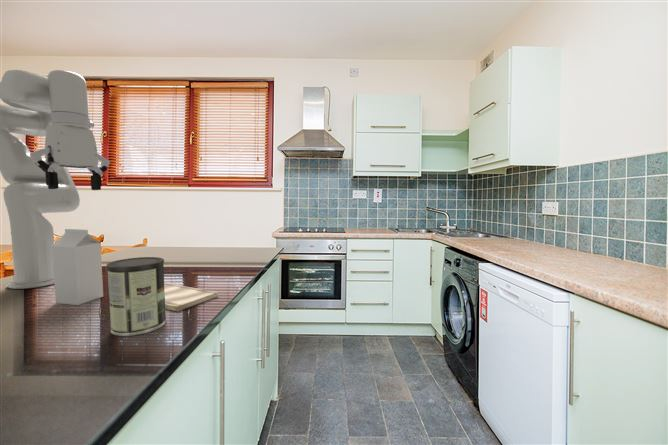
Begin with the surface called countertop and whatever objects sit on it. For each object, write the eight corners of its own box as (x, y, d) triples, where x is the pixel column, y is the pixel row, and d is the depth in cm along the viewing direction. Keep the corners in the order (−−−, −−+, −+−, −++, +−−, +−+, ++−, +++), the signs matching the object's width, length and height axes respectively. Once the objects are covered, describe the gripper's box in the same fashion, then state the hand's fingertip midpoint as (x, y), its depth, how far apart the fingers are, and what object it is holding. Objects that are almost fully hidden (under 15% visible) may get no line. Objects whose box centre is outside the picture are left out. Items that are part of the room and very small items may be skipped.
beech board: (115, 297, 86) (115, 292, 86) (159, 285, 98) (159, 281, 98) (177, 311, 76) (177, 306, 76) (217, 296, 88) (217, 291, 88)
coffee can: (142, 314, 74) (140, 255, 73) (177, 320, 71) (175, 258, 70) (97, 332, 64) (93, 264, 63) (134, 340, 61) (131, 268, 60)
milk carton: (77, 305, 79) (73, 231, 78) (55, 303, 81) (50, 230, 79) (103, 297, 86) (100, 228, 85) (82, 295, 88) (78, 227, 86)
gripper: (98, 131, 91) (102, 190, 92) (19, 116, 75) (25, 189, 76) (114, 128, 87) (119, 189, 89) (36, 112, 72) (42, 187, 73)
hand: (75, 189), depth 82 cm, fingers open, 9 cm apart
